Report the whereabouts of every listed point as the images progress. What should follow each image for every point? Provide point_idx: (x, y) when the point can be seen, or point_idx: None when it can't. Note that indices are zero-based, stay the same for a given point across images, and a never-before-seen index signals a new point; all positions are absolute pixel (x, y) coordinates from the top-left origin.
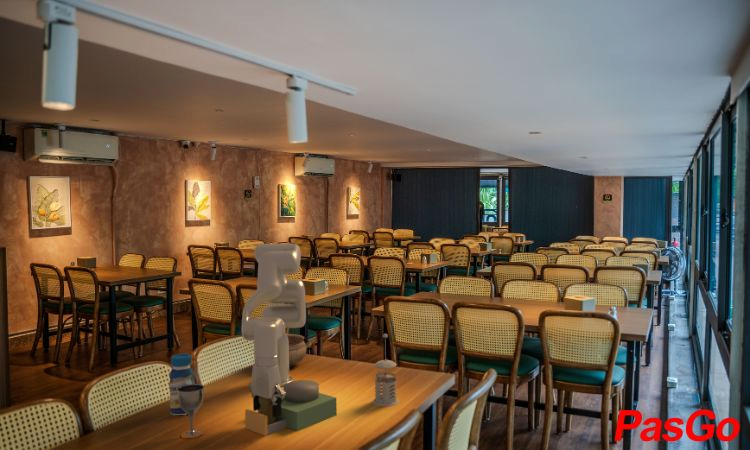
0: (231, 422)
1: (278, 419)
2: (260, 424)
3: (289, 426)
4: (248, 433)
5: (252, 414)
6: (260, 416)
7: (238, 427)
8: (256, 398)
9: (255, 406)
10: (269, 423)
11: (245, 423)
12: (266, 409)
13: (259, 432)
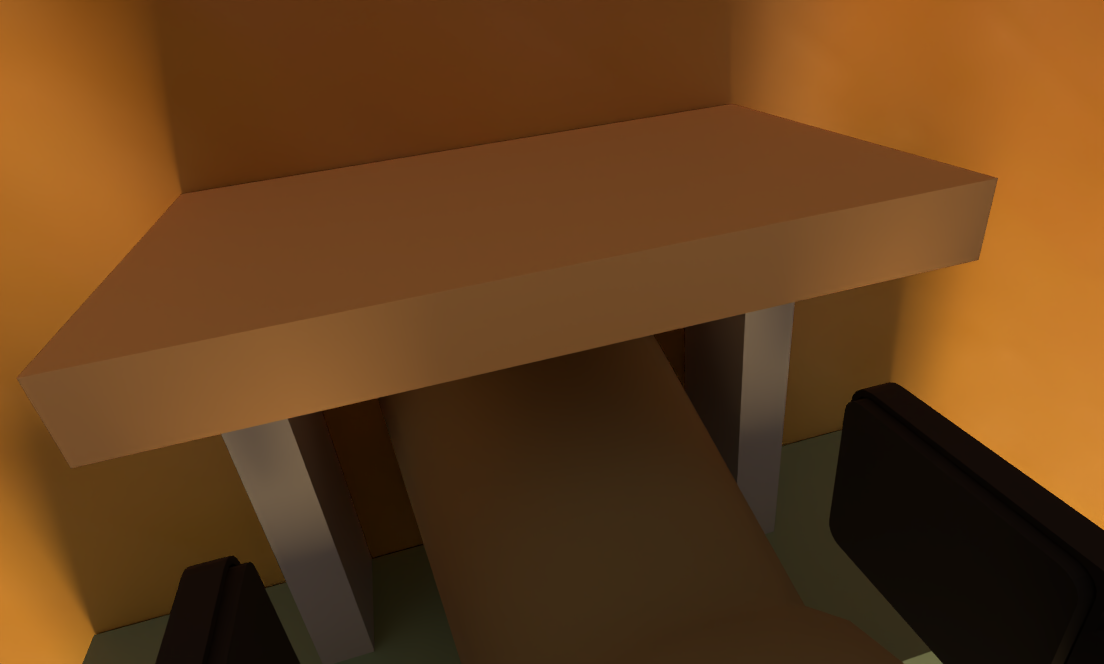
0: (1053, 56)
1: None
2: (306, 224)
3: None
4: (498, 9)
5: (662, 222)
6: (287, 309)
7: (839, 27)
8: (1082, 636)
9: (910, 458)
10: (398, 419)
11: (773, 116)
12: (494, 594)
13: (352, 169)
